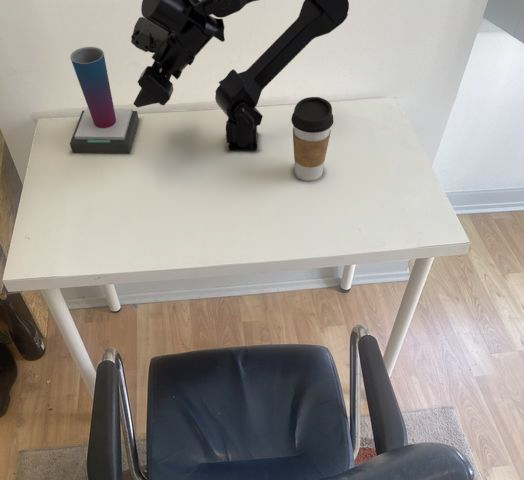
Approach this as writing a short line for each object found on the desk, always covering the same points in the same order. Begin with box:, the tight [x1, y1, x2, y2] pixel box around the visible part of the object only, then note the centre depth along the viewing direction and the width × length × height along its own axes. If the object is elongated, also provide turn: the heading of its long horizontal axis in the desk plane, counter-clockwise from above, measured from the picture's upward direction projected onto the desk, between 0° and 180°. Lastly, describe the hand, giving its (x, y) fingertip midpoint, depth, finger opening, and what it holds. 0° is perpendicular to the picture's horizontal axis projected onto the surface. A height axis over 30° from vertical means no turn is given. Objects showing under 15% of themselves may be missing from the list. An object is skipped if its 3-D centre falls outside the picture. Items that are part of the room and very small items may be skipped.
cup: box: [69, 46, 116, 128], centre depth 117 cm, size 7×7×15 cm
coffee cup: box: [290, 96, 335, 182], centre depth 111 cm, size 8×8×15 cm
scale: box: [69, 107, 140, 155], centre depth 124 cm, size 13×13×3 cm
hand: (141, 93), depth 112 cm, fingers open, 9 cm apart
